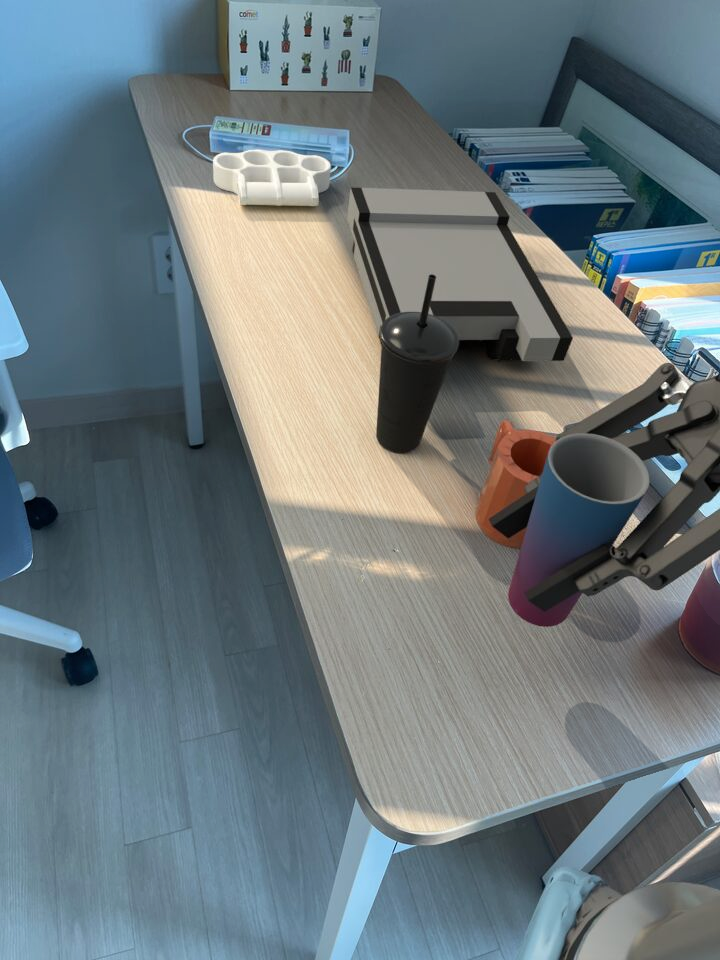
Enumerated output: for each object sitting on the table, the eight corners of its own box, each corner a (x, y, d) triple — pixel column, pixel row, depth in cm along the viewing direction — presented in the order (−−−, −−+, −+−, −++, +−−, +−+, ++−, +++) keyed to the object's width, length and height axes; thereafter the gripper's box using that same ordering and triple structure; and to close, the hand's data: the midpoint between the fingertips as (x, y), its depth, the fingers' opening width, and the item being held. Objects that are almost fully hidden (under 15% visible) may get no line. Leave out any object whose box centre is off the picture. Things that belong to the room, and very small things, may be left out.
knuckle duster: (217, 211, 110) (211, 164, 120) (338, 212, 114) (323, 167, 124) (217, 188, 108) (210, 143, 117) (340, 191, 112) (324, 147, 121)
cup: (591, 592, 62) (661, 459, 51) (564, 651, 58) (634, 519, 47) (515, 555, 64) (567, 420, 54) (483, 609, 60) (533, 474, 49)
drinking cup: (400, 404, 86) (433, 245, 71) (447, 444, 82) (492, 285, 68) (348, 430, 82) (372, 267, 67) (395, 473, 78) (431, 310, 64)
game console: (387, 388, 87) (398, 329, 81) (344, 242, 108) (350, 187, 102) (554, 384, 91) (576, 328, 86) (481, 244, 112) (495, 192, 107)
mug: (558, 542, 74) (589, 481, 68) (491, 552, 72) (516, 490, 66) (517, 467, 81) (541, 404, 74) (455, 475, 79) (474, 411, 72)
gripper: (714, 262, 52) (447, 452, 60) (916, 456, 40) (548, 665, 48) (740, 321, 58) (491, 490, 65) (926, 509, 45) (593, 690, 53)
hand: (516, 563), depth 56 cm, fingers closed on cup, 6 cm apart
